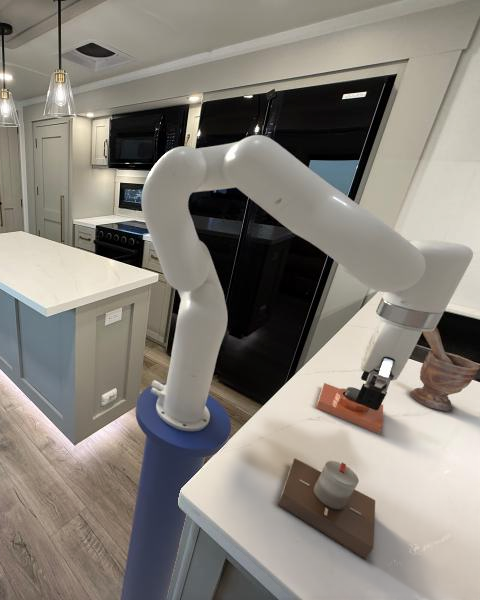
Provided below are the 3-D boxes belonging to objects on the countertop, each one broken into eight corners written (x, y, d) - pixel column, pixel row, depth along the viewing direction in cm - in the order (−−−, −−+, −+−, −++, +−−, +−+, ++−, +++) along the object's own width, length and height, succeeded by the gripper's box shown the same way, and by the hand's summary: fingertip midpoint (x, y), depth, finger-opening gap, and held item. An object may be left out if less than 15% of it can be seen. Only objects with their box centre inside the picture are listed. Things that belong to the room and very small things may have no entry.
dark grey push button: (343, 398, 76) (346, 391, 75) (344, 391, 79) (347, 385, 78) (362, 405, 74) (365, 398, 73) (362, 398, 76) (366, 391, 76)
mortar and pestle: (391, 396, 83) (426, 331, 75) (390, 381, 89) (422, 319, 81) (455, 417, 76) (501, 348, 68) (448, 400, 82) (490, 334, 74)
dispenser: (315, 407, 78) (321, 395, 76) (321, 389, 85) (326, 377, 83) (378, 434, 71) (386, 420, 69) (379, 411, 77) (386, 399, 76)
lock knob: (343, 515, 50) (358, 489, 48) (311, 496, 53) (323, 471, 51) (346, 496, 53) (360, 471, 51) (315, 479, 56) (328, 455, 54)
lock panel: (277, 504, 55) (282, 492, 54) (289, 468, 62) (294, 457, 60) (365, 559, 47) (374, 547, 46) (368, 511, 54) (375, 499, 53)
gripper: (380, 294, 61) (349, 366, 68) (374, 322, 50) (337, 405, 56) (435, 306, 56) (396, 382, 63) (442, 339, 45) (393, 428, 52)
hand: (368, 393), depth 60 cm, fingers open, 9 cm apart
